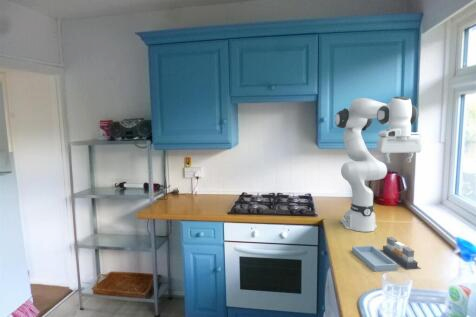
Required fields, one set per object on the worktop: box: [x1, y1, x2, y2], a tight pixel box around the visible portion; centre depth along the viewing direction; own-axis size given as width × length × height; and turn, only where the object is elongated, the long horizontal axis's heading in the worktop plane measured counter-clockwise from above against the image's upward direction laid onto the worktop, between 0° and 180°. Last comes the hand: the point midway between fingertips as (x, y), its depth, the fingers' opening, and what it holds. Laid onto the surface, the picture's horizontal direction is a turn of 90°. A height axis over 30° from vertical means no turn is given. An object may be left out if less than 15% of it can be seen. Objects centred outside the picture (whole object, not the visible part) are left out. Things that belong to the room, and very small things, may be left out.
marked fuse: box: [394, 241, 406, 256], centre depth 143 cm, size 4×2×7 cm, turn 6°
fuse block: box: [379, 245, 422, 271], centre depth 144 cm, size 20×7×4 cm, turn 6°
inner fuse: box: [386, 236, 398, 250], centre depth 149 cm, size 4×2×7 cm, turn 6°
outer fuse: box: [402, 246, 415, 262], centre depth 137 cm, size 4×2×7 cm, turn 6°
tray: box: [351, 245, 399, 273], centre depth 142 cm, size 20×10×4 cm, turn 6°
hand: (398, 162), depth 150 cm, fingers open, 8 cm apart
